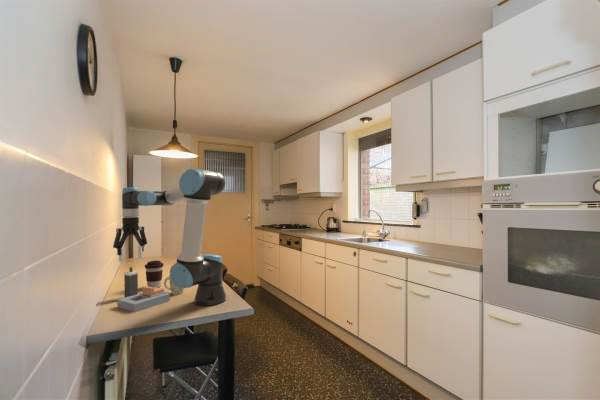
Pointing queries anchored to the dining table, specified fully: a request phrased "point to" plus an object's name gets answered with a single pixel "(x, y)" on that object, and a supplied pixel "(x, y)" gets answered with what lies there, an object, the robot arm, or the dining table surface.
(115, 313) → the dining table surface
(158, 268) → the coffee cup
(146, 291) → the block
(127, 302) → the socket plate
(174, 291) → the mug
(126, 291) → the plug
